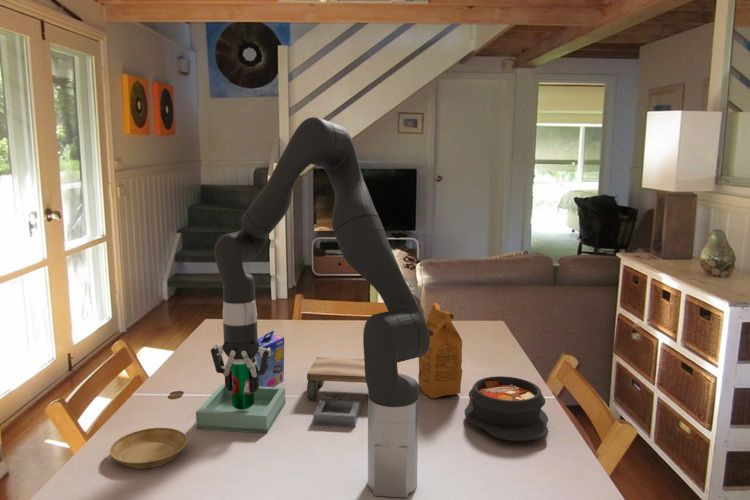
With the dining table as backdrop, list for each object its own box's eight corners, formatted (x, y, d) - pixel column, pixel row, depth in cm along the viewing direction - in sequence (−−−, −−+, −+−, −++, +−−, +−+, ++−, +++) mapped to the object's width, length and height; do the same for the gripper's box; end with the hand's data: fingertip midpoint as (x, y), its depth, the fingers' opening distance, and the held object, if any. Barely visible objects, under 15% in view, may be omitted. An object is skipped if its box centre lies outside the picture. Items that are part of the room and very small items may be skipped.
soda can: (249, 411, 142) (247, 361, 140) (228, 409, 143) (226, 359, 141) (257, 402, 147) (256, 353, 145) (237, 400, 148) (235, 352, 146)
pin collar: (355, 427, 140) (355, 416, 139) (313, 424, 141) (313, 414, 140) (360, 409, 149) (360, 399, 149) (321, 407, 150) (321, 397, 150)
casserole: (453, 401, 154) (453, 369, 152) (526, 398, 156) (527, 366, 154) (480, 451, 129) (481, 413, 128) (566, 447, 131) (569, 409, 130)
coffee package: (449, 379, 168) (451, 300, 164) (465, 397, 156) (467, 312, 152) (413, 382, 166) (414, 301, 162) (426, 401, 154) (428, 314, 150)
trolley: (379, 406, 151) (379, 379, 149) (306, 402, 153) (305, 375, 151) (385, 383, 165) (385, 358, 163) (318, 380, 167) (317, 355, 165)
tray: (266, 433, 137) (266, 416, 136) (196, 429, 138) (195, 412, 138) (285, 403, 152) (285, 387, 152) (222, 399, 154) (221, 384, 153)
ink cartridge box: (262, 393, 158) (261, 338, 156) (245, 389, 161) (243, 334, 158) (285, 380, 167) (284, 327, 165) (269, 376, 170) (267, 324, 167)
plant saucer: (200, 456, 127) (200, 444, 127) (128, 483, 117) (127, 470, 117) (168, 432, 138) (167, 421, 137) (99, 454, 128) (98, 443, 127)
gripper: (203, 323, 138) (206, 395, 141) (266, 325, 137) (268, 398, 140) (215, 313, 146) (218, 383, 149) (275, 315, 144) (277, 385, 147)
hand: (242, 390), depth 144 cm, fingers closed on soda can, 5 cm apart
